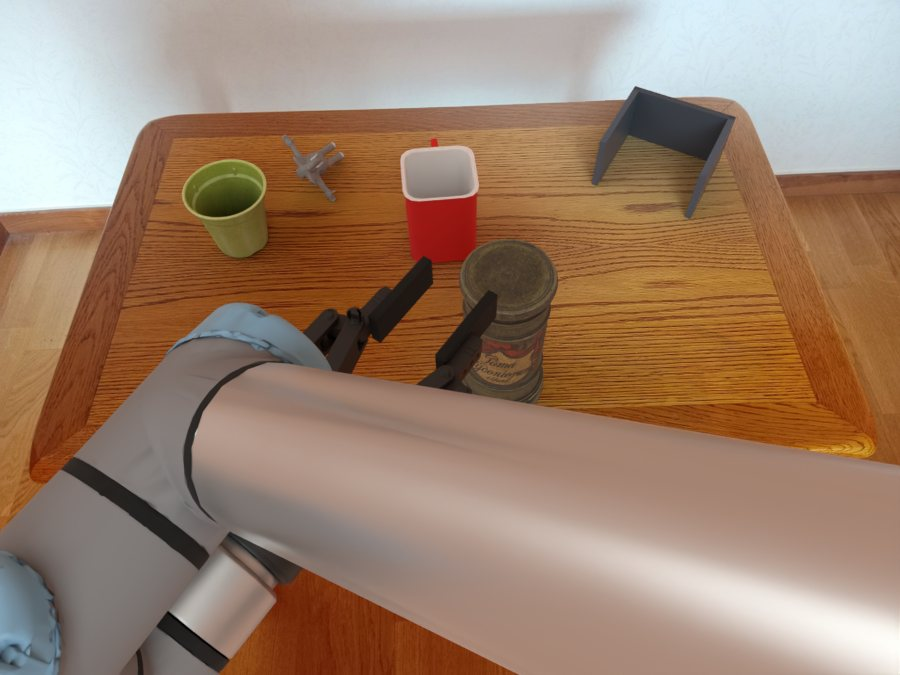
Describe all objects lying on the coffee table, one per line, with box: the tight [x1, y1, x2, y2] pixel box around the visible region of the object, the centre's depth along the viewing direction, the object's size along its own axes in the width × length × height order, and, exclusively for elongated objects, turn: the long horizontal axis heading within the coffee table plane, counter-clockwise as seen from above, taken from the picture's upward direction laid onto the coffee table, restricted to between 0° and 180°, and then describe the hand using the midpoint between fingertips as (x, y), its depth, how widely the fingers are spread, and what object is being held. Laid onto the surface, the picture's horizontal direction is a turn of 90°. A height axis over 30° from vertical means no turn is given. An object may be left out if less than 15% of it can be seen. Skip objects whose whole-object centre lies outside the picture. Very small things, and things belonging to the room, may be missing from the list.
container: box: [458, 238, 559, 405], centre depth 67 cm, size 9×9×18 cm
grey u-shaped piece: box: [591, 85, 737, 219], centre depth 89 cm, size 12×13×7 cm
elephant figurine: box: [282, 133, 345, 203], centre depth 90 cm, size 10×6×9 cm
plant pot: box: [181, 158, 269, 259], centre depth 83 cm, size 9×9×9 cm
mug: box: [399, 137, 480, 264], centre depth 82 cm, size 12×8×11 cm
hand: (459, 286), depth 51 cm, fingers open, 5 cm apart
